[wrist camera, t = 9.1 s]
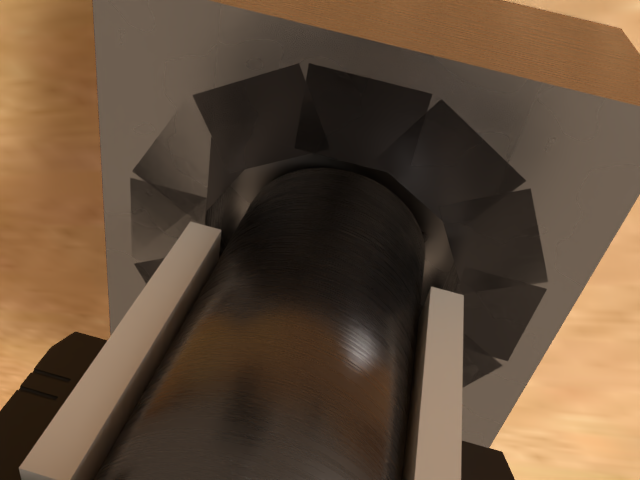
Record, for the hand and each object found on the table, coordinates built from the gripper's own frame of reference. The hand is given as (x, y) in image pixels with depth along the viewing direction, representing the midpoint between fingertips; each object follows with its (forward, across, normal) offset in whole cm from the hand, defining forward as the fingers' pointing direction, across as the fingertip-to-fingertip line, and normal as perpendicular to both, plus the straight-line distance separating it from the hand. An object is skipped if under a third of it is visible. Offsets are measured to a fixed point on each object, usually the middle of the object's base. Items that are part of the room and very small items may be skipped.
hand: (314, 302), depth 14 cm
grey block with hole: (+7, 0, -2) cm, 8 cm away
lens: (+2, 0, 0) cm, 2 cm away
